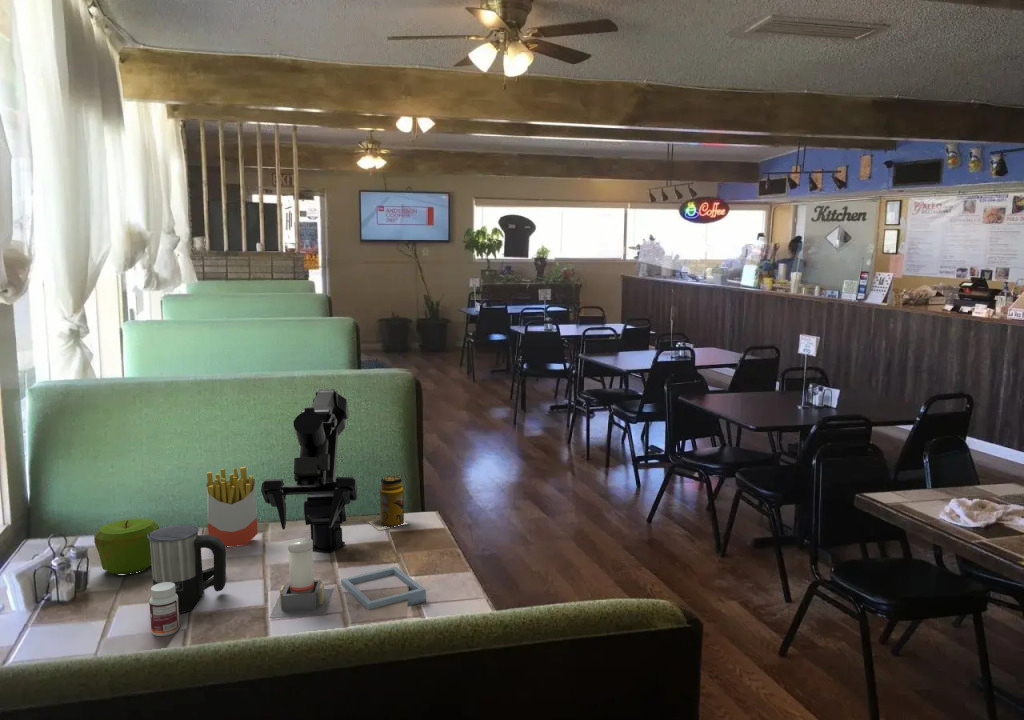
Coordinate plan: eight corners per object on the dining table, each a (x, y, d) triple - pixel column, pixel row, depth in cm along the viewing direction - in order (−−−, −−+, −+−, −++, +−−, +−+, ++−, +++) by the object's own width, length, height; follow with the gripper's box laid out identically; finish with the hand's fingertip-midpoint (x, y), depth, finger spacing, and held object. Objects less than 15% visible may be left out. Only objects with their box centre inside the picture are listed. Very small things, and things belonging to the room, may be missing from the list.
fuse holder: (282, 598, 153) (281, 575, 152) (333, 595, 154) (332, 573, 153) (269, 625, 141) (268, 601, 140) (325, 622, 142) (324, 598, 141)
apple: (156, 555, 177) (153, 507, 175) (165, 572, 166) (162, 521, 165) (94, 567, 170) (90, 517, 168) (100, 585, 160) (96, 533, 158)
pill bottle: (156, 625, 142) (154, 581, 141) (183, 624, 142) (181, 580, 141) (147, 637, 137) (144, 592, 136) (174, 636, 137) (171, 591, 136)
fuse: (292, 598, 149) (290, 538, 148) (316, 596, 150) (314, 537, 148) (288, 608, 145) (285, 546, 143) (313, 607, 145) (310, 545, 144)
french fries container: (258, 544, 183) (254, 470, 181) (209, 549, 180) (205, 474, 178) (257, 537, 188) (254, 465, 185) (209, 543, 184) (206, 469, 182)
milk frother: (152, 619, 144) (148, 543, 142) (149, 589, 158) (144, 518, 156) (233, 604, 150) (229, 530, 149) (222, 576, 164) (219, 508, 163)
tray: (341, 591, 156) (341, 579, 156) (395, 577, 163) (395, 566, 162) (368, 616, 144) (368, 604, 144) (425, 601, 151) (425, 589, 151)
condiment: (410, 524, 197) (409, 478, 195) (379, 530, 192) (378, 484, 191) (398, 517, 203) (396, 472, 202) (367, 523, 198) (366, 477, 197)
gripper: (260, 441, 156) (250, 510, 147) (354, 438, 158) (350, 507, 148) (270, 469, 165) (261, 536, 155) (358, 466, 167) (355, 532, 157)
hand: (306, 527), depth 154 cm, fingers open, 9 cm apart
